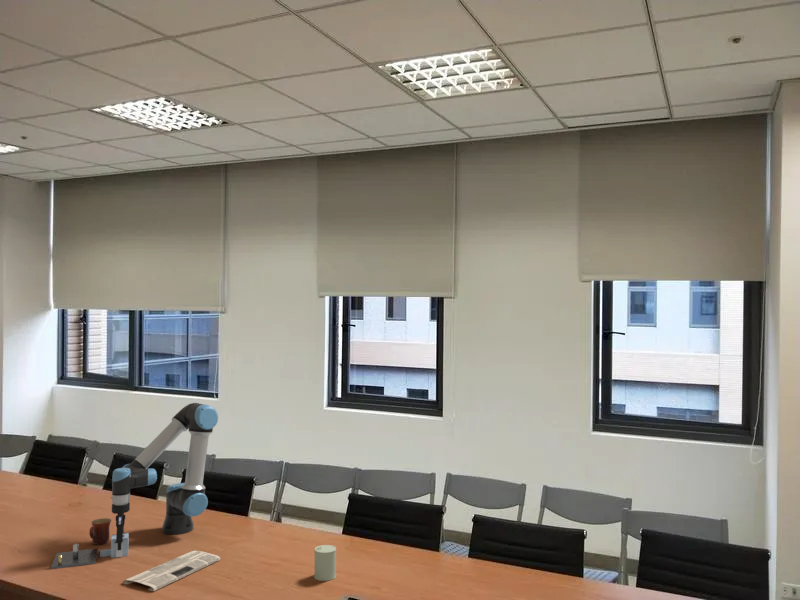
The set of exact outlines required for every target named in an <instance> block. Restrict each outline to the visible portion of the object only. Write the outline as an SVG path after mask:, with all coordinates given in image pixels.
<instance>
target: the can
mask: <svg viewBox="0 0 800 600" xmlns="http://www.w3.org/2000/svg"><path fill="white" fill-rule="evenodd" d="M313 573H314V575H313V579H315V580H316V581H321V582H328V581H332V580H335V579H336V577H337V547H336V546H335V545H332V544H321V545H318V546H316V547H315V548H314V572H313Z"/></svg>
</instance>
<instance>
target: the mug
mask: <svg viewBox="0 0 800 600" xmlns="http://www.w3.org/2000/svg"><path fill="white" fill-rule="evenodd" d="M90 523H91V524H90V525H91V526H90V528H89V531H88V532H89V537H90V539H91V541H92V543H93V545H96V546H102V545H105V544H107V543H108V542H109V541H110V531H111V530H110V526H111V523H112V519H111V518H107V517H105V518H97V519H94V520H92V521H91V522H90Z"/></svg>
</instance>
